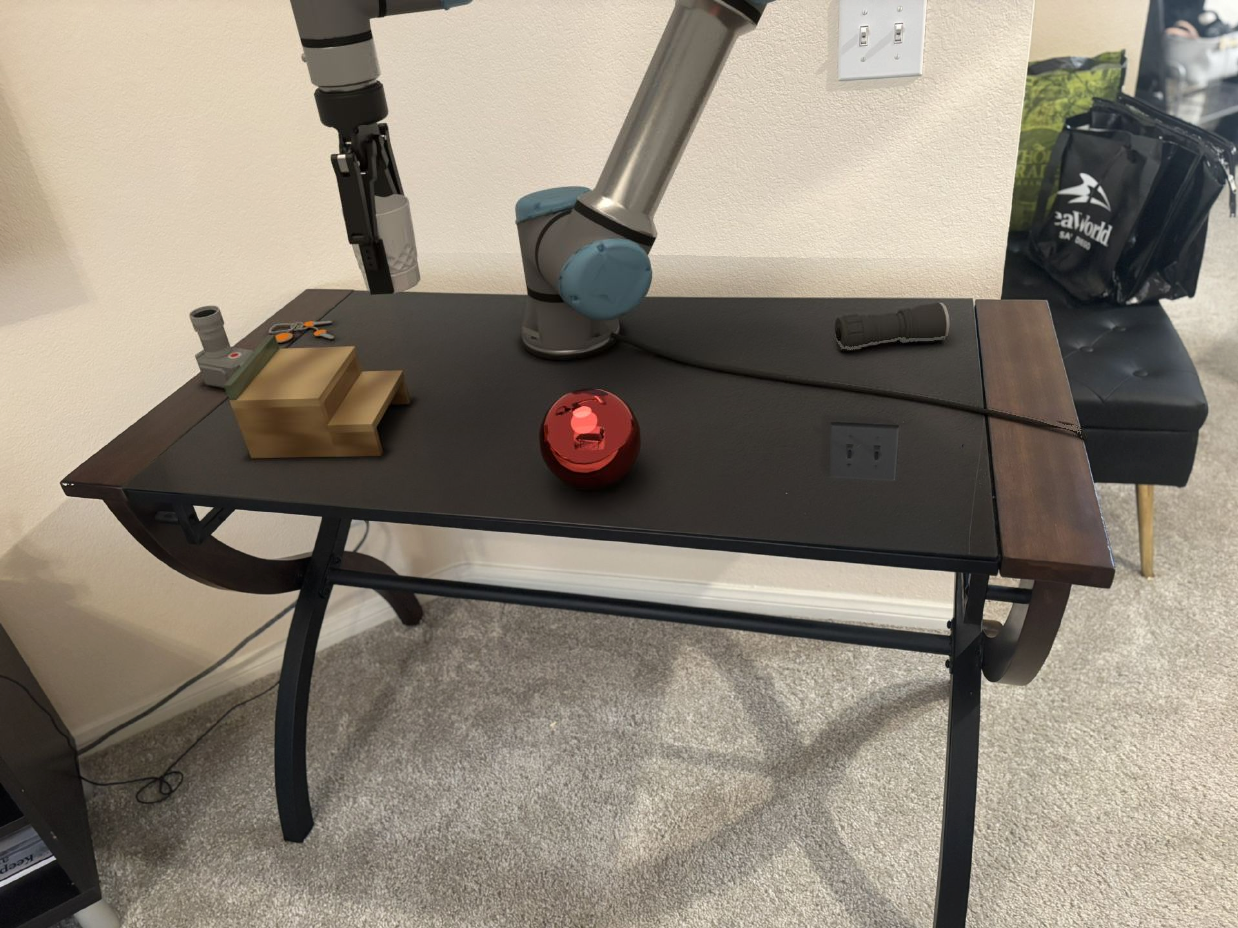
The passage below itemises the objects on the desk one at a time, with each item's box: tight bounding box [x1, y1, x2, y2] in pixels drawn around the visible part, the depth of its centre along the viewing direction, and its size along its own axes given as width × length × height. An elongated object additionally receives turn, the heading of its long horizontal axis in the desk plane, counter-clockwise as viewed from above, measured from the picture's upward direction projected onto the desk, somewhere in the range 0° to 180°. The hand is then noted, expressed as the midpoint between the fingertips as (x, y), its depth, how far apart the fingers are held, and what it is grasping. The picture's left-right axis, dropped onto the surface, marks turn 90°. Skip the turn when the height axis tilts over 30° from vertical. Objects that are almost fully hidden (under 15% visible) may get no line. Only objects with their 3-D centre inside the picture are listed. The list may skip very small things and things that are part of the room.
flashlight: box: [834, 302, 951, 352], centre depth 130 cm, size 15×5×5 cm, turn 94°
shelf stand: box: [223, 334, 411, 459], centre depth 122 cm, size 18×14×11 cm
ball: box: [538, 387, 642, 491], centre depth 107 cm, size 12×12×12 cm
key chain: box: [268, 320, 335, 344], centre depth 151 cm, size 13×7×1 cm, turn 84°
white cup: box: [340, 194, 422, 294], centre depth 110 cm, size 8×8×10 cm
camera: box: [188, 305, 255, 389], centre depth 135 cm, size 9×12×15 cm
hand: (392, 278), depth 112 cm, fingers closed on white cup, 8 cm apart
